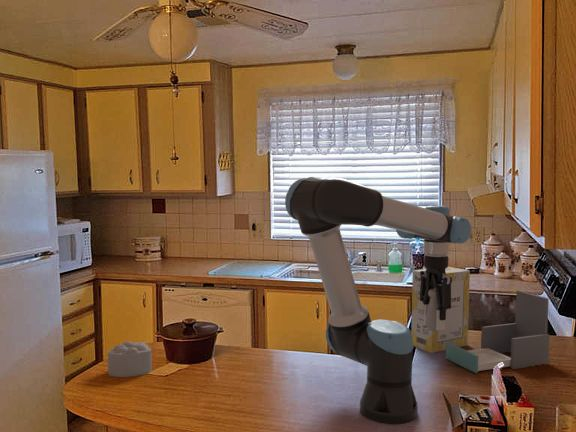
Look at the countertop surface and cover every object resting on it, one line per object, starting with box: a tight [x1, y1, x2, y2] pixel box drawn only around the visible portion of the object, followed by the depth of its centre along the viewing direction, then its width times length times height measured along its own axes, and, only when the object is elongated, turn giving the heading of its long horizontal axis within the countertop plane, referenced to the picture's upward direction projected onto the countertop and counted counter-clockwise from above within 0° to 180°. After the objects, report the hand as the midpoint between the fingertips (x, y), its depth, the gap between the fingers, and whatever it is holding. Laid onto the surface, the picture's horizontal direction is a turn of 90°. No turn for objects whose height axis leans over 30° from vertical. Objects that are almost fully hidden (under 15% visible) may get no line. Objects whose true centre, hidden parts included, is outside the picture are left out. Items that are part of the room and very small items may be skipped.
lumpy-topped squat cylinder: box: [107, 340, 153, 378], centre depth 177 cm, size 10×13×9 cm
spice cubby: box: [480, 290, 550, 370], centre depth 189 cm, size 15×15×22 cm
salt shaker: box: [425, 289, 441, 331], centre depth 176 cm, size 6×6×13 cm
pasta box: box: [410, 266, 471, 354], centre depth 205 cm, size 18×10×28 cm, turn 120°
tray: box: [445, 342, 511, 374], centre depth 185 cm, size 16×15×6 cm
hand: (434, 327), depth 176 cm, fingers closed on salt shaker, 6 cm apart
